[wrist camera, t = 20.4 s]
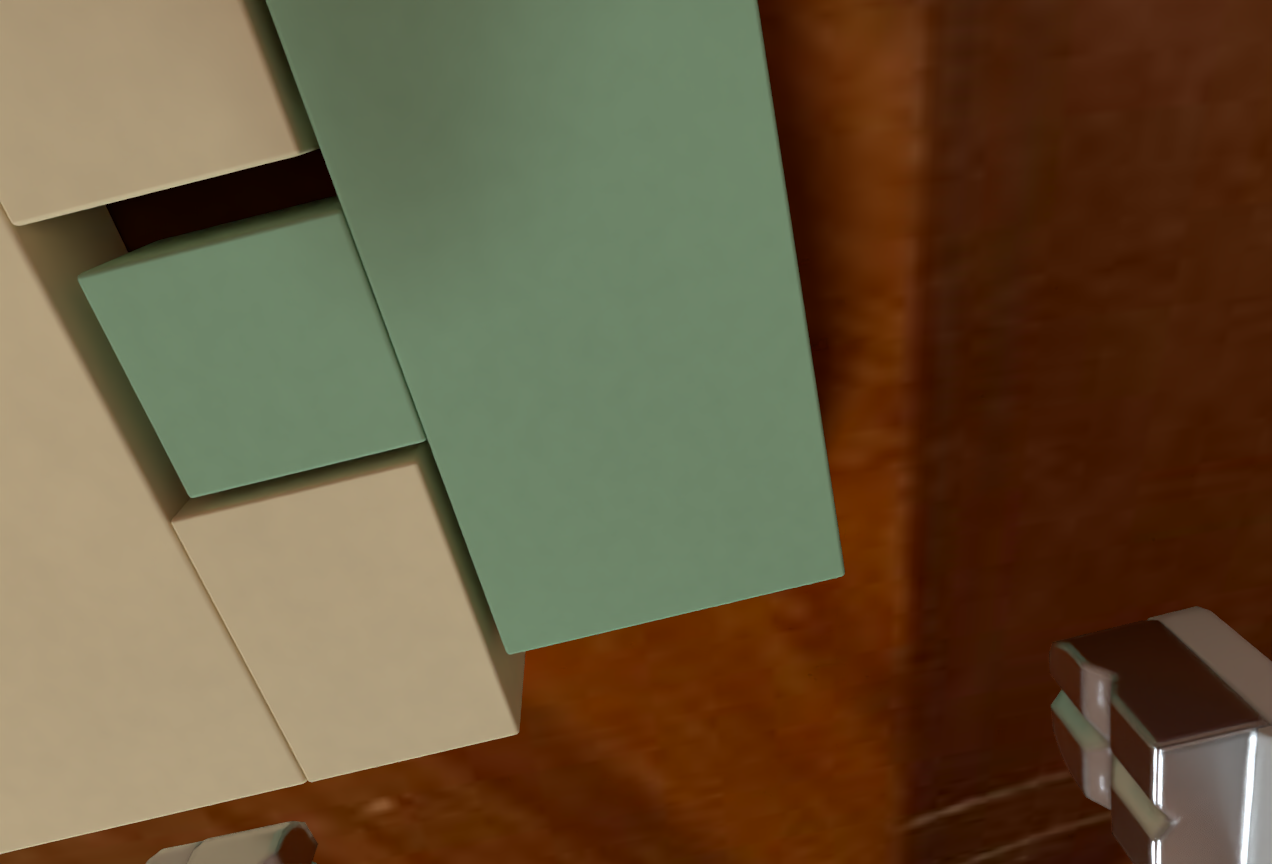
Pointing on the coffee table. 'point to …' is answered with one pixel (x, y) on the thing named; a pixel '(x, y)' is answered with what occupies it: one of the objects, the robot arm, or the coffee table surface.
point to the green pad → (517, 303)
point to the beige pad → (154, 495)
